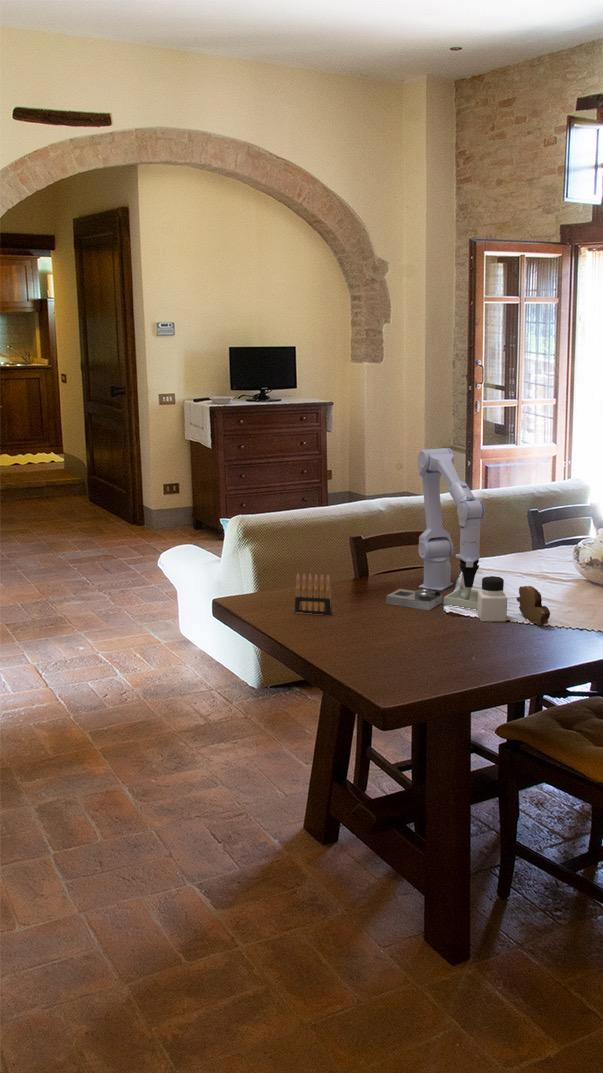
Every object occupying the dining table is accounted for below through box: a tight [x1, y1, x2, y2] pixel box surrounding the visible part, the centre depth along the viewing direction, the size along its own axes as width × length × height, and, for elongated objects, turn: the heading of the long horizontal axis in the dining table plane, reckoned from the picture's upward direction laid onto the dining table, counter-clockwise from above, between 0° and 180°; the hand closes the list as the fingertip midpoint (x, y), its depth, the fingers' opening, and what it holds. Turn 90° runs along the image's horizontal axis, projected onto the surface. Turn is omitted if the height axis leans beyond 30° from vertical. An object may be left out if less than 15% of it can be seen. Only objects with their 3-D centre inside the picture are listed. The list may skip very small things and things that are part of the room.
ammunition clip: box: [294, 572, 333, 616], centre depth 285 cm, size 11×2×12 cm, turn 77°
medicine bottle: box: [476, 575, 508, 623], centre depth 279 cm, size 7×7×12 cm
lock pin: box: [458, 569, 472, 600], centre depth 294 cm, size 4×4×9 cm
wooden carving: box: [516, 585, 551, 626], centre depth 276 cm, size 16×5×10 cm, turn 18°
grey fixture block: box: [385, 588, 443, 611], centre depth 295 cm, size 9×14×5 cm, turn 58°
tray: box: [443, 588, 478, 611], centre depth 295 cm, size 11×11×2 cm
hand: (468, 585), depth 294 cm, fingers closed on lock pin, 4 cm apart
